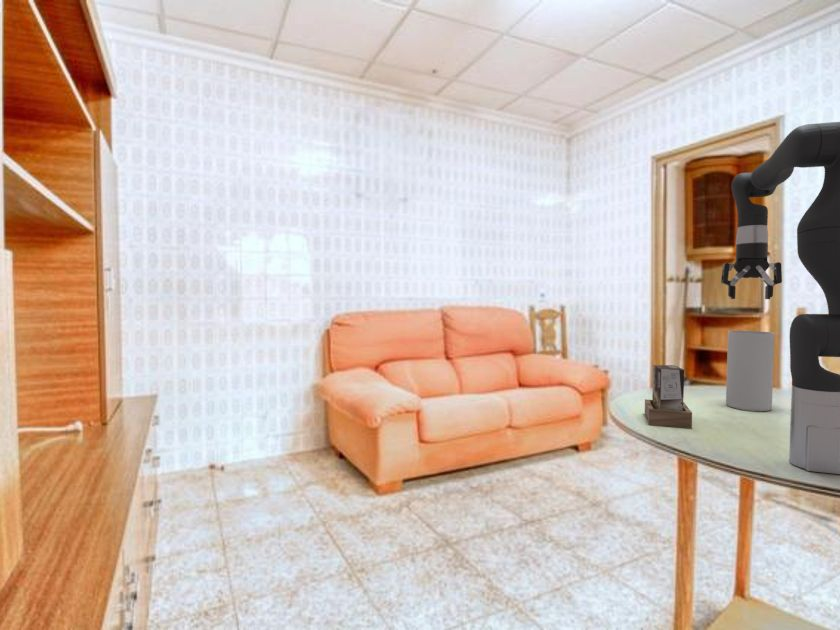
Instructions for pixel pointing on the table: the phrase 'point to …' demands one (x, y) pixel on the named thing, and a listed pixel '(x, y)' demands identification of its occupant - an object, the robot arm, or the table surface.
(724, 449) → the table surface
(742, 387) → the cylinder vase
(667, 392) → the coffee box
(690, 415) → the brown wooden tray
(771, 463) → the table surface
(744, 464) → the table surface
